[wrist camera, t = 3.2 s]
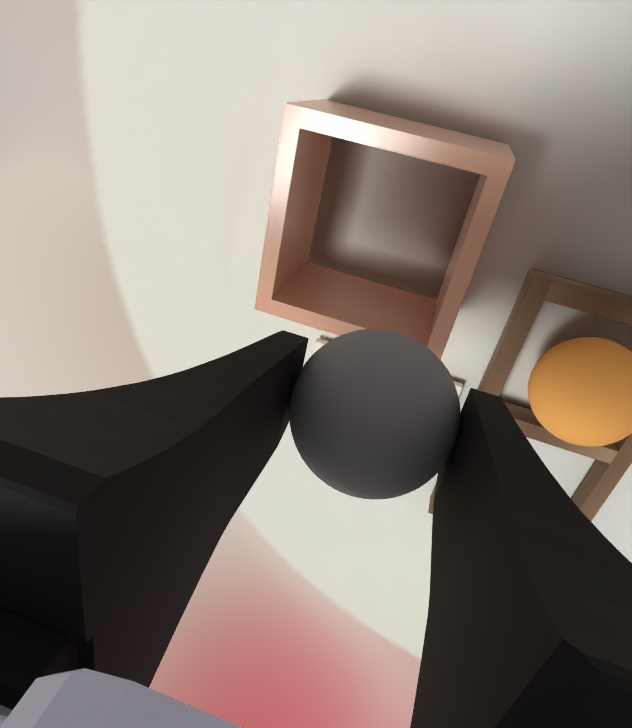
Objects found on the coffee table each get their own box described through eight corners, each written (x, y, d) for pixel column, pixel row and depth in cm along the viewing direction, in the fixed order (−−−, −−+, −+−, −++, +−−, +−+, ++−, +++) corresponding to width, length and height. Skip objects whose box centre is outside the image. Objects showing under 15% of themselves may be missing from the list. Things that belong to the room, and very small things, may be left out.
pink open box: (508, 144, 16) (515, 159, 12) (445, 316, 19) (437, 365, 16) (324, 99, 17) (284, 102, 13) (293, 270, 20) (254, 308, 16)
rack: (710, 318, 16) (723, 330, 16) (560, 542, 22) (563, 560, 21) (530, 268, 17) (533, 278, 16) (430, 496, 23) (428, 512, 22)
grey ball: (484, 328, 11) (488, 418, 8) (436, 450, 13) (424, 561, 10) (329, 285, 12) (279, 355, 9) (303, 408, 14) (254, 501, 11)
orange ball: (656, 337, 17) (694, 391, 14) (605, 420, 19) (628, 484, 16) (549, 307, 18) (563, 352, 15) (508, 390, 20) (514, 446, 17)
